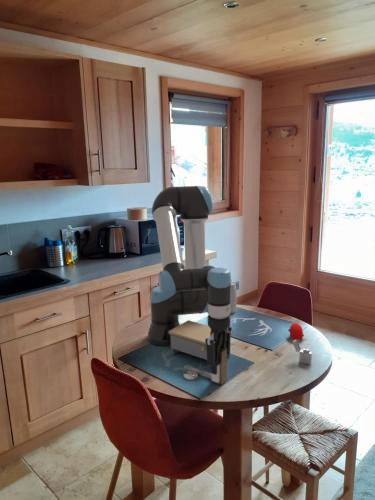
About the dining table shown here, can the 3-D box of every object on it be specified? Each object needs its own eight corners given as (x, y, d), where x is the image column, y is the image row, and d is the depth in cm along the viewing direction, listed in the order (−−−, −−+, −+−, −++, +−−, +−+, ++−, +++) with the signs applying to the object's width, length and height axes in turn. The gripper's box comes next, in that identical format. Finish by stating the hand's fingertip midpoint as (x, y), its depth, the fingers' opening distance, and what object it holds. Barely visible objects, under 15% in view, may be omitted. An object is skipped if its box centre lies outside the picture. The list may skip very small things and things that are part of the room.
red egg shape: (287, 325, 169) (285, 323, 164) (301, 322, 168) (299, 320, 162) (292, 344, 166) (289, 342, 161) (306, 341, 164) (304, 339, 159)
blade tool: (182, 370, 140) (181, 340, 137) (188, 366, 142) (187, 336, 140) (221, 385, 130) (221, 352, 128) (226, 380, 133) (227, 348, 130)
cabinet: (167, 355, 151) (167, 332, 149) (188, 342, 162) (188, 320, 160) (212, 371, 139) (213, 346, 137) (232, 356, 150) (232, 332, 148)
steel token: (181, 378, 135) (180, 375, 135) (187, 371, 140) (187, 369, 139) (193, 382, 133) (193, 379, 133) (200, 375, 137) (200, 372, 137)
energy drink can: (237, 313, 192) (238, 285, 189) (226, 314, 191) (226, 286, 188) (233, 309, 198) (234, 281, 195) (222, 310, 197) (222, 282, 194)
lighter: (311, 362, 144) (312, 343, 143) (310, 364, 143) (311, 344, 141) (292, 357, 148) (293, 338, 146) (291, 359, 147) (292, 340, 145)
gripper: (215, 325, 119) (215, 393, 124) (240, 309, 132) (239, 371, 137) (195, 320, 123) (196, 386, 128) (222, 305, 136) (221, 365, 141)
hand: (218, 378), depth 133 cm, fingers closed on blade tool, 3 cm apart
